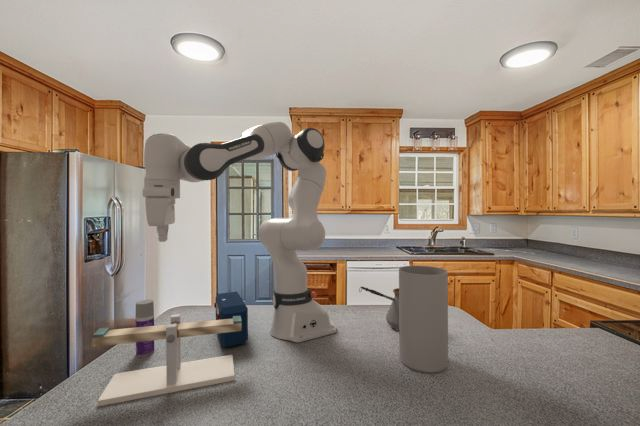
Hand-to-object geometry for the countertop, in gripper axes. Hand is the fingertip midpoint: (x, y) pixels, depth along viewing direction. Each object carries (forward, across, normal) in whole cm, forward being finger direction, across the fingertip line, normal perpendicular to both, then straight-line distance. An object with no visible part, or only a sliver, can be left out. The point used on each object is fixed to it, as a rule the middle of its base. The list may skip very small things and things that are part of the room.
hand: (163, 241), depth 81 cm
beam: (+22, +12, +4) cm, 26 cm away
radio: (+33, -10, +18) cm, 39 cm away
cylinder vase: (+33, +26, +67) cm, 79 cm away
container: (+33, -6, -6) cm, 34 cm away
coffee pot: (+33, +3, +71) cm, 78 cm away
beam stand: (+33, +12, +4) cm, 35 cm away
